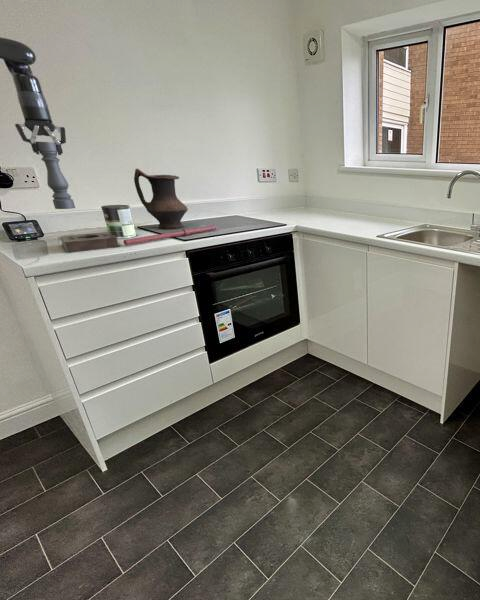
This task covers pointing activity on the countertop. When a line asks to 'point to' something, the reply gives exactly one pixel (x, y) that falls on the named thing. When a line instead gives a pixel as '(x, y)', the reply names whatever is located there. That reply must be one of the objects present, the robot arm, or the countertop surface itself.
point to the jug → (162, 200)
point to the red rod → (168, 235)
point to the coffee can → (119, 221)
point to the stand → (89, 241)
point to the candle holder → (55, 176)
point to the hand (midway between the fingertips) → (49, 154)
